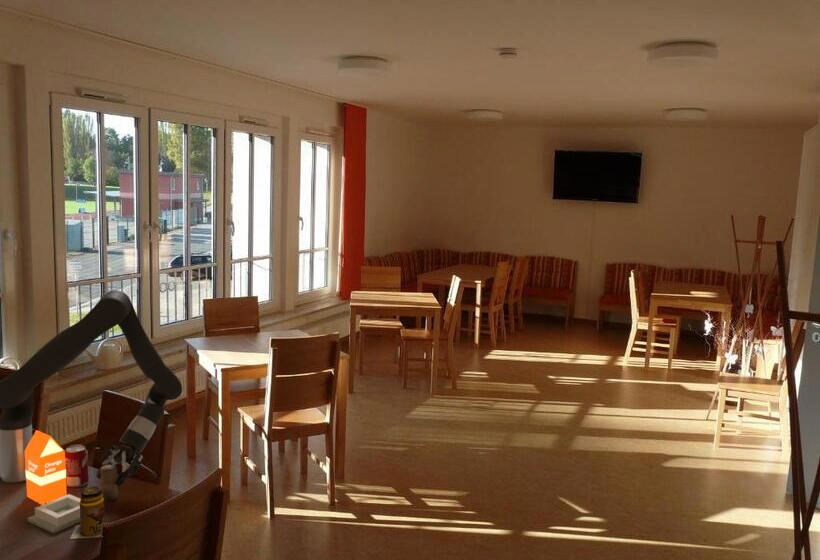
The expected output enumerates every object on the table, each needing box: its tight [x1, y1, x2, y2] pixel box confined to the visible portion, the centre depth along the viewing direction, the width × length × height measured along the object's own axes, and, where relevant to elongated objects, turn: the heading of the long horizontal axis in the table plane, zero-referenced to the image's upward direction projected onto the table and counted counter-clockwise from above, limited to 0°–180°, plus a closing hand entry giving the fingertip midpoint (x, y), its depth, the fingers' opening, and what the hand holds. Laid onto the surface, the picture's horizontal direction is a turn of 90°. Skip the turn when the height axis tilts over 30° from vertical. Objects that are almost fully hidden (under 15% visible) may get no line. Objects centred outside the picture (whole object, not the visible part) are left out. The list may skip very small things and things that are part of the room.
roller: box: [100, 464, 119, 502], centre depth 212 cm, size 4×4×10 cm
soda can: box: [65, 444, 90, 489], centre depth 220 cm, size 7×7×12 cm
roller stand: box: [27, 493, 81, 534], centre depth 200 cm, size 12×14×4 cm
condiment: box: [69, 486, 108, 540], centre depth 192 cm, size 7×8×12 cm
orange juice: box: [24, 429, 68, 506], centre depth 211 cm, size 8×9×20 cm
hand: (107, 481), depth 212 cm, fingers open, 8 cm apart
